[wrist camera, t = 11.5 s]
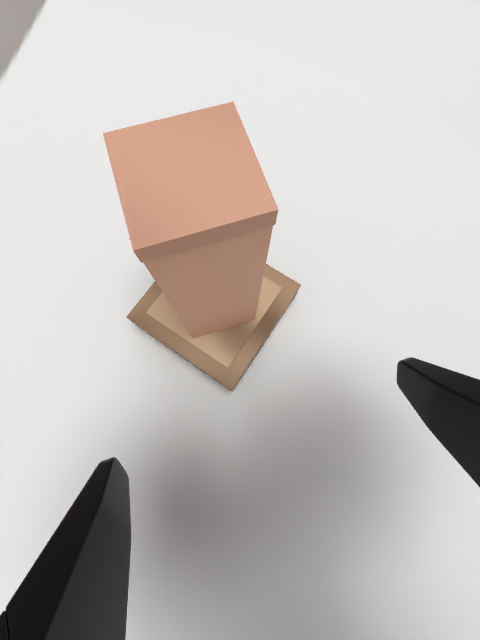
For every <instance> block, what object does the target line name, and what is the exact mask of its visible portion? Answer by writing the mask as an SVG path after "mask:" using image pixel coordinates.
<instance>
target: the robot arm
mask: <svg viewBox="0 0 480 640" xmlns="http://www.w3.org/2000/svg"><path fill="white" fill-rule="evenodd" d="M397 384H398V386H399V388H400V389H401V391H402V392H403V394H404V395H405V396H406V398H407V399H408V401H409V402H410V403H411V405H412V406H413V408H414V409H415V410H416V412H417V413H418V415H419V416H420V417H421V419H422V420H423V422H424V423H425V424H426V426H427V427H428V428H429V429H430V431H431V432H432V433H433V434H434V435H435V437H436V438H437V439H438V440H439V441H440V442H441V443H442V445H443V446H444V447H445V448H446V449H447V450H448V451H449V453H450V454H451V455H452V456H453V457H454V458H455V459H456V461H457V462H458V463H459V464H460V465H461V466H462V467H463V469H464V470H465V471H466V472H467V473H468V474H469V475H470V477H471V478H472V479H473V480H474V481H475V482H476V483H477V485H478V486H479V487H480V380H479V379H476V378H473V377H470V376H467V375H464V374H461V373H458V372H455V371H452V370H449V369H446V368H443V367H440V366H437V365H434V364H431V363H428V362H425V361H422V360H419V359H416V358H411V357H410V358H406V359H404V360H401V361H399V362H398V365H397ZM130 550H131V518H130V496H129V479H128V475H127V473H126V471H125V470H124V468H123V467H122V465H121V464H120V462H119V461H118V459H117V458H115V457H112V458H110V459H107V460H104V461H101V462H100V463H99V464H98V466H97V467H96V469H95V471H94V472H93V474H92V475H91V477H90V478H89V480H88V481H87V483H86V484H85V486H84V487H83V489H82V491H81V492H80V494H79V495H78V497H77V498H76V500H75V501H74V503H73V504H72V506H71V508H70V509H69V511H68V512H67V514H66V515H65V517H64V518H63V520H62V521H61V523H60V524H59V526H58V528H57V529H56V531H55V532H54V534H53V535H52V537H51V538H50V540H49V541H48V543H47V545H46V546H45V548H44V549H43V551H42V552H41V554H40V555H39V557H38V558H37V560H36V561H35V563H34V565H33V566H32V568H31V569H30V571H29V572H28V574H27V575H26V577H25V578H24V580H23V582H22V583H21V585H20V586H19V588H18V589H17V591H16V592H15V594H14V595H13V597H12V598H11V600H10V602H9V603H8V605H7V606H6V611H3V612H2V614H1V615H0V640H125V635H126V618H127V601H128V584H129V567H130Z"/></svg>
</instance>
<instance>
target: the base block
mask: <svg viewBox="0 0 480 640" xmlns="http://www.w3.org/2000/svg"><path fill="white" fill-rule="evenodd" d="M300 286H301V285H300V284H299V283H297V282H295V281H294V280H292V279H290V278H289V277H287V276H285V275H284V274H282V273H280V272H279V271H277V270H275V269H274V268H272V267H270V266H269V265H267V264H265V270H264V275H263V280H262V285H261V291H260V296H259V301H258V306H257V312H256V317H255V320H252V321H249V322H245V323H242V324H239V325H236V326H233V327H229V328H226V329H223V330H220V331H217V332H214V333H210V334H207V335H204V336H201V337H198V338H194V339H193V338H192V336H191V335H190V333H189V332H188V330H187V329H186V327H185V326H184V324H183V323H182V321H181V319H180V318H179V316H178V315H177V313H176V312H175V310H174V309H173V307H172V306H171V304H170V303H169V301H168V299H167V298H166V296H165V295H164V293H163V292H162V290H161V289H160V287H159V286H158V284H157V283H156V281H155V282H154V283H153V285H152V286H151V287H150V288H149V290H148V291H147V292H146V293H145V295H144V296H143V297H142V298H141V300H140V301H139V302H138V303H137V305H136V306H135V307H134V308H133V309H132V311H131V312H130V313H129V314H128V316H127V318H128V319H129V320H131V321H132V322H133V323H134V324H136V325H137V326H138V327H140V328H141V329H142V330H144V331H145V332H147V333H148V334H150V335H151V336H153V337H154V338H156V339H157V340H158V341H160V342H161V343H163V344H164V345H166V346H167V347H169V348H170V349H171V350H173V351H174V352H176V353H177V354H179V355H180V356H182V357H183V358H184V359H186V360H187V361H189V362H190V363H192V364H193V365H195V366H196V367H198V368H199V369H200V370H202V371H203V372H205V373H206V374H208V375H209V376H211V377H212V378H213V379H215V380H216V381H218V382H219V383H221V384H222V385H224V386H225V387H226V388H228V389H229V390H231V391H233V390H234V388H235V387H236V385H237V384H238V382H239V381H240V379H241V378H242V376H243V375H244V373H245V372H246V370H247V369H248V367H249V366H250V364H251V363H252V361H253V360H254V358H255V357H256V355H257V353H258V352H259V350H260V349H261V347H262V346H263V344H264V343H265V341H266V340H267V338H268V337H269V335H270V334H271V332H272V331H273V329H274V328H275V326H276V325H277V323H278V322H279V320H280V319H281V317H282V316H283V314H284V313H285V311H286V310H287V308H288V307H289V305H290V304H291V302H292V300H293V299H294V297H295V296H296V294H297V292H298V290H299V288H300Z"/></svg>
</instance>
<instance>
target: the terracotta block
mask: <svg viewBox="0 0 480 640" xmlns="http://www.w3.org/2000/svg"><path fill="white" fill-rule="evenodd" d="M103 135H104V139H105V143H106V147H107V151H108V155H109V158H110V162H111V166H112V170H113V174H114V178H115V182H116V186H117V190H118V193H119V197H120V201H121V205H122V209H123V213H124V217H125V221H126V225H127V229H128V232H129V236H130V240H131V244H132V248H133V251H134V252H135V254H136V255H137V257H138V258H139V260H140V261H141V262H144V264H145V266H146V267H147V269H148V270H149V272H150V273H151V275H152V276H153V278H154V279H155V281H156V283H157V284H158V286H159V287H160V289H161V290H162V292H163V293H164V295H165V296H166V298H167V299H168V301H169V303H170V304H171V306H172V307H173V309H174V310H175V312H176V313H177V315H178V316H179V318H180V319H181V321H182V323H183V324H184V326H185V327H186V329H187V330H188V332H189V333H190V335H191V336H192V338H193V339H194V338H198V337H201V336H204V335H207V334H210V333H214V332H217V331H220V330H223V329H226V328H229V327H233V326H236V325H239V324H242V323H245V322H249V321H252V320H255V317H256V312H257V306H258V301H259V296H260V291H261V285H262V280H263V275H264V270H265V264H266V259H267V254H268V249H269V244H270V238H271V233H272V228H273V225H275V223H276V218H277V213H278V208H277V205H276V203H275V201H274V198H273V196H272V193H271V191H270V189H269V186H268V184H267V181H266V179H265V177H264V174H263V172H262V169H261V167H260V165H259V162H258V160H257V157H256V155H255V153H254V150H253V148H252V145H251V143H250V141H249V138H248V136H247V133H246V131H245V129H244V126H243V124H242V121H241V119H240V117H239V114H238V112H237V109H236V107H235V105H234V102H230V103H226V104H222V105H217V106H213V107H209V108H205V109H201V110H197V111H193V112H189V113H185V114H180V115H176V116H172V117H168V118H164V119H160V120H156V121H152V122H148V123H144V124H139V125H135V126H131V127H127V128H123V129H119V130H115V131H111V132H107V133H103Z"/></svg>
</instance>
